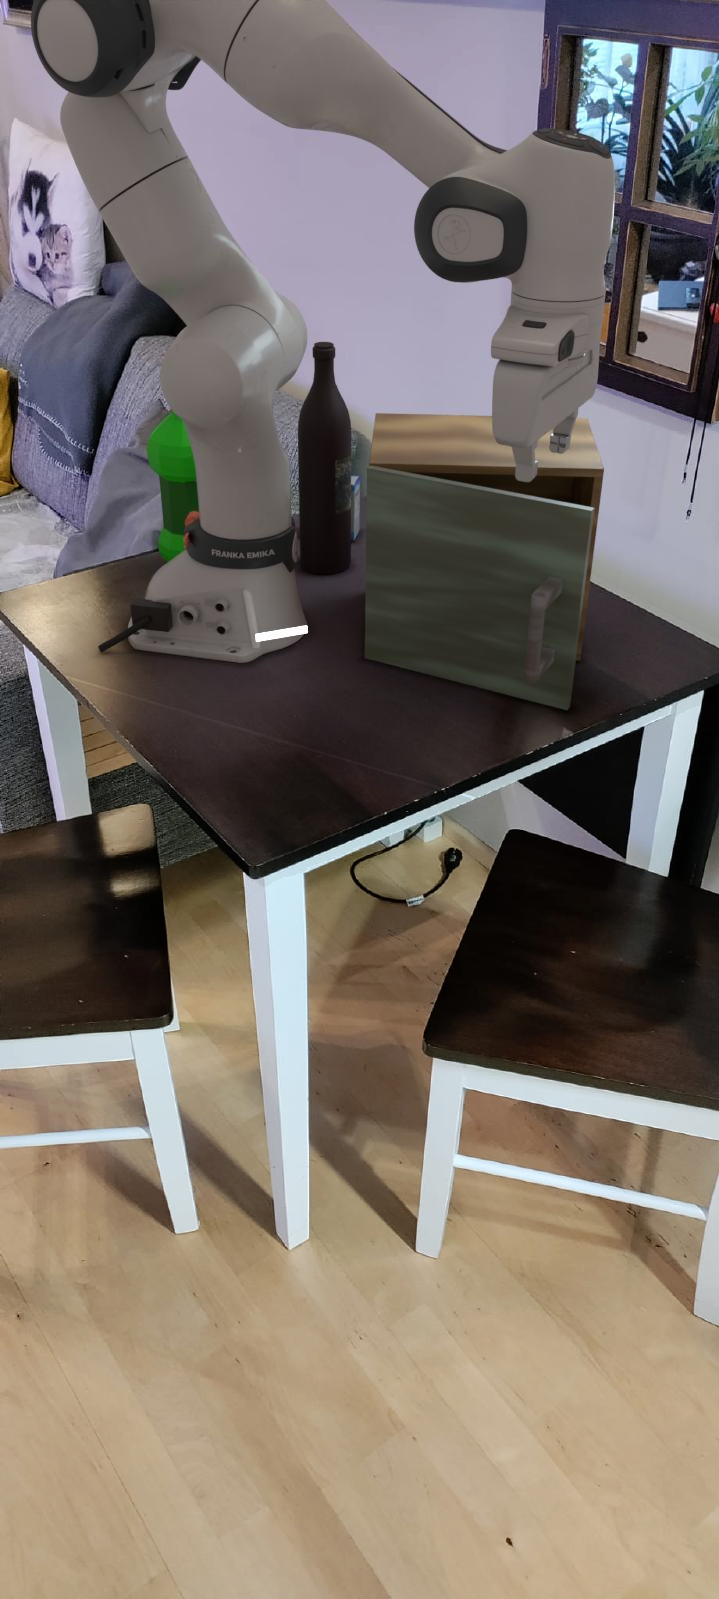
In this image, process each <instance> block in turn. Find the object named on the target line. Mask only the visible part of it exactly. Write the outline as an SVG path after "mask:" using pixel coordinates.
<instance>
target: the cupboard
mask: <svg viewBox="0 0 719 1599" xmlns="http://www.w3.org/2000/svg"><path fill="white" fill-rule="evenodd" d="M553 429H554V428H553ZM553 429H551V430H550V431H549V432H548V433H546V434H545V435H544V436H543V437H541V438H540V439H539V440H538V442H537V448H536V449H535V461H538V468H537V476H536V477H535V478H534V479H533V480H532V481H530V482H523V481H518V480H517V479H516V477H515V471H516V462H515V459H514V455H513V451H512V447H511V446H506V445H501V444H498V443H497V442H496V440H495V437H494V434H493V430H492V415H473V414H472V415H468V414H431V413H430V414H427V413H426V414H425V413H389V412H388V413H384V412H376V413H375V416H374V424H373V432H372V438H371V446H370V455H369V461H368V467H369V466H377V467H382V468H387V469H392V470H398V471H403V472H408V473H414V474H419V475H424V476H429V477H435V478H440V479H445V480H450V481H456V482H461V483H466V484H472V485H477V486H482V487H487V488H493V489H498V490H503V491H508V492H514V493H519V494H524V495H529V496H535V497H540V498H545V499H551V500H556V501H561V502H566V503H572V504H577V505H582V506H587V507H593V508H595V510H594V518H593V526H592V534H591V542H590V550H589V558H588V566H587V574H586V583H585V591H584V599H583V607H582V615H581V623H580V631H579V639H578V647H577V656H576V661H581V657H582V650H583V649H582V648H583V640H584V635H585V634H584V633H585V625H586V617H587V610H588V601H589V594H590V593H589V591H590V585H591V578H592V571H593V570H592V569H593V561H594V552H595V545H596V539H597V538H596V537H597V530H598V522H599V521H598V520H599V513H600V506H601V499H602V490H603V481H604V472H605V468H604V465H603V462H602V459H601V456H600V452H599V449H598V446H597V443H596V441H595V440H596V439H595V437H594V434H593V430H592V427H591V425H590V422H589V419H588V417H577V419H576V422H575V425H574V428H573V431H572V433H571V441H570V448H569V449H568V450H567V451H565V452H564V453H563V454H559V453H553V452H551V451H550V449H549V445H550V435H551V434H552V433H553Z"/></svg>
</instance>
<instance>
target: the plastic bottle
mask: <svg viewBox="0 0 719 1599" xmlns="http://www.w3.org/2000/svg"><path fill="white" fill-rule="evenodd" d="M146 456H147V460H148V464H149V467H150V469H151V470H152V471H153V472H155V473H156V475H158V479H159V489H160V490H159V491H160V501H161V512H162V528H161V531H160V534H159V538H158V541H157V544H158V551H159V552H158V553H159V554H160V555H161V557H162V559H163V560H164V561H165V562H166V563H168V562H169V561H170V560H172V559H173V558H175V557H176V556H177V555H179V554H180V553H181V552H183V551H184V550H185V547H184V530H185V528H186V526H185V521H186V519H187V516H188V515H189V513H190V512H192V511H197V512H199V504H198V492H197V480H196V469H195V463H194V457H193V453H192V449H191V446H190V442H189V439H188V436H187V433H186V430H185V427H184V424H183V421H182V419H181V418H179V417H178V416H177V415H176V414H175V413H174V412H173V410H172V409H171V412H170V413H169V414H168V415H167V416H166V417H164V418H163V420H162V421H161V422H160V423H159V424H158V425H157V426H155V428H154V429H152V431H151V434H150V436H149V438H148V442H147V446H146Z"/></svg>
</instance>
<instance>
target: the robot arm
mask: <svg viewBox="0 0 719 1599" xmlns="http://www.w3.org/2000/svg"><path fill="white" fill-rule="evenodd" d="M32 2H33V3H32V6H31V12H30V31H31V37H32V41H33V42H32V43H33V45H34V48H35V52H36V54H37V57H38V59H39V61H40V63H41V65H42V66H43V68H44V70H45V71H46V73H47V74H48V75H49V77H50V78H51V79H52V80H53V81H54V82H55V83H56V84H57V85H58V86H59V87H60V88H61V89H63V90H64V91H67V93H66V95H65V97H64V99H63V101H62V102H61V106H60V111H59V120H60V127H61V129H62V134H63V135H64V138H65V141H66V144H67V147H68V149H69V152H70V154H71V156H72V159H73V161H74V164H75V166H76V169H77V171H78V173H79V175H80V178H81V180H82V182H83V184H84V186H85V188H86V190H87V193H88V195H89V197H90V198H91V201H92V202H93V204H94V206H95V207H96V210H97V211H98V213H99V215H100V216H101V218H102V220H103V222H104V223H105V225H106V227H107V229H108V231H109V232H110V234H111V236H112V238H113V239H114V242H115V243H116V245H117V247H118V248H119V250H120V252H121V253H122V256H123V257H124V259H125V261H126V263H127V264H128V266H129V268H130V270H131V271H132V273H133V275H134V277H135V279H136V280H137V281H138V282H139V283H140V284H141V285H142V286H143V287H145V288H146V289H147V290H149V291H151V292H153V293H154V294H156V295H157V296H159V297H160V298H161V299H162V300H163V301H164V302H165V303H166V304H167V305H168V306H169V307H170V308H171V309H172V310H173V311H174V312H175V314H176V315H178V317H179V318H180V319H181V320H182V322H183V323H184V324H185V325H186V326H185V327H184V328H183V329H182V330H181V331H180V332H179V333H178V335H177V336H176V337H175V339H174V340H173V342H172V343H171V345H170V346H169V348H168V349H167V351H166V352H165V355H164V356H163V359H162V361H161V364H160V369H159V383H160V388H161V391H162V395H163V397H164V400H165V401H166V403H167V405H168V407H169V408H170V410H171V411H172V410H173V412H174V413H175V414H176V415H177V416H178V417H179V418H181V419H182V421H183V424H184V427H185V430H186V433H187V436H188V439H189V442H190V446H191V449H192V453H193V457H194V463H195V469H196V480H197V492H198V504H199V512H197V511H192V512H190V513H189V515H188V516H187V519H186V521H185V526H186V528H185V530H184V547H185V550H184V551H183V552H181V553H180V554H179V555H177V556H176V557H175V558H173V559H172V560H170V561H169V562H166V563H165V564H163V565H162V566H161V567H159V568H158V569H157V571H155V573H154V575H152V577H151V579H150V581H149V583H148V585H147V588H146V591H145V595H144V596H145V597H144V598H135V599H133V601H132V602H131V603H130V604H129V606H130V618H129V621H128V625H127V628H126V629H125V630H123V631H122V632H119V633H118V634H116V635H115V636H113V637H111V638H110V639H108V640H105V641H104V642H102V643H101V644H99V645H98V646H97V648H98V651H99V652H101V653H104V652H105V651H107V650H109V649H111V648H113V647H115V646H116V645H118V644H119V643H121V642H123V641H124V640H128V643H129V644H130V646H131V647H132V648H133V649H134V650H137V651H138V650H139V651H144V652H152V653H159V654H167V655H175V656H185V657H192V658H200V659H206V660H214V661H221V662H222V661H223V662H231V663H238V664H244V663H245V664H246V663H249V662H252V661H254V660H256V659H258V658H259V657H261V656H262V655H265V654H267V653H271V652H275V651H278V650H282V649H284V648H287V647H289V646H292V645H293V644H295V643H296V642H298V641H300V640H301V639H302V638H303V637H304V636H305V634H308V632H309V631H308V622H307V619H306V617H305V614H304V611H303V610H304V609H303V606H302V603H301V599H300V595H299V589H298V582H297V576H296V565H297V562H298V535H297V533H298V532H297V531H296V520H295V519H294V518H293V516H292V480H291V479H292V478H291V476H292V475H291V460H290V456H289V454H288V452H287V451H286V450H285V448H284V447H283V446H282V443H281V440H280V436H279V434H278V430H277V429H278V428H277V425H276V421H275V415H274V414H275V413H274V401H275V397H276V396H275V395H276V393H277V391H279V390H280V389H281V388H283V386H285V385H286V384H287V383H289V382H290V380H292V378H293V377H294V376H295V374H296V373H297V371H298V370H299V368H300V365H301V364H302V361H303V358H304V356H305V352H306V349H307V346H308V328H307V325H306V321H305V319H304V316H303V315H302V313H301V311H300V309H299V308H298V307H297V305H295V303H294V302H292V301H291V300H290V299H288V297H286V296H285V295H282V294H281V293H279V292H278V291H277V290H276V289H275V288H274V287H273V286H272V285H271V283H270V282H269V281H268V279H267V278H266V277H265V276H264V275H263V274H262V272H261V271H260V270H259V269H258V267H257V266H256V264H255V263H254V262H253V261H252V260H251V258H250V257H249V256H248V255H247V253H246V252H245V251H244V250H243V248H242V247H241V246H240V245H239V243H238V241H237V240H236V239H235V238H234V236H233V235H232V233H231V232H230V230H229V229H228V227H227V225H226V224H225V222H224V220H223V218H222V217H221V215H220V213H219V211H218V210H217V208H216V205H215V203H214V202H213V200H212V198H211V196H210V195H209V193H208V191H207V189H206V186H204V183H203V181H202V179H201V177H200V176H199V174H198V172H197V170H196V168H195V167H194V164H193V163H192V160H191V159H190V158H189V155H188V153H187V152H186V150H185V148H184V145H183V144H182V142H181V141H180V138H179V137H178V135H177V134H176V131H175V129H174V128H173V125H172V123H171V121H170V118H169V115H168V111H167V95H168V91H180V90H182V89H183V88H184V87H185V86H186V85H187V82H188V81H189V79H190V77H191V76H192V74H193V72H194V71H195V69H196V68H197V66H198V65H199V63H201V62H203V63H205V64H206V65H207V67H209V68H210V69H211V70H213V71H214V73H215V74H216V75H218V76H219V77H220V78H221V79H222V80H223V81H224V82H225V83H226V84H227V85H228V86H229V87H230V88H231V89H232V90H234V91H235V92H236V93H237V94H238V95H239V96H240V97H241V98H242V99H244V100H245V101H246V102H247V103H248V104H249V105H251V106H252V107H253V108H255V109H256V110H258V111H260V112H261V113H263V114H264V115H265V116H268V117H269V118H271V119H272V120H274V121H276V122H278V123H280V124H281V125H283V126H285V127H288V128H292V129H296V130H297V129H298V130H308V131H318V132H319V131H320V132H327V133H334V134H341V135H346V136H349V137H354V138H357V139H360V140H363V141H365V142H367V143H369V144H371V145H373V146H375V147H377V148H378V149H380V150H382V151H383V152H384V153H386V154H387V155H388V156H389V157H390V158H392V159H393V160H394V161H395V162H397V163H398V164H399V165H400V166H402V167H403V168H404V169H405V170H406V171H407V172H409V173H410V174H411V175H412V176H414V178H416V179H417V180H418V181H420V182H421V183H422V184H423V185H425V186H426V187H427V188H428V189H427V190H426V191H425V193H424V194H423V195H422V197H421V199H420V201H419V203H418V205H417V208H416V211H415V215H414V220H413V221H414V222H413V232H414V233H413V235H414V240H415V241H414V242H415V245H416V249H417V251H418V253H419V256H420V257H421V260H422V261H423V263H424V264H425V266H427V268H428V269H429V270H430V271H431V272H432V273H433V274H435V275H436V276H437V277H439V278H440V279H443V280H445V281H448V282H451V283H453V282H454V283H461V284H462V283H463V284H470V283H471V284H472V283H477V282H482V281H489V280H491V281H492V280H497V279H501V278H505V279H507V280H509V281H510V283H511V291H510V305H509V306H508V308H507V310H506V313H505V316H504V318H503V320H502V321H501V324H500V325H499V327H498V328H497V329H496V331H495V332H494V334H493V336H492V338H491V342H490V343H491V345H490V357H491V359H495V360H498V361H497V363H496V364H495V368H494V371H493V372H494V373H493V379H492V398H491V416H492V430H493V434H494V437H495V440H496V442H497V443H498V444H501V445H506V446H511V447H512V451H513V455H514V459H515V462H516V471H515V477H516V479H517V480H518V481H523V482H530V481H532V480H533V479H534V478H535V477H536V476H537V468H538V461H535V449H536V448H537V442H538V440H539V439H540V438H541V437H543V436H544V435H545V434H546V433H548V432H549V431H550V430H551V429H553V428H554V429H553V433H552V434H551V435H550V445H549V449H550V451H551V452H553V453H559V454H563V453H564V452H565V451H567V450H568V449H569V448H570V441H571V433H572V431H573V428H574V425H575V422H576V419H577V418H578V416H579V409H580V408H581V407H582V406H583V405H584V404H585V403H588V401H589V400H590V399H592V398H593V397H594V395H595V392H596V388H597V385H598V378H599V364H600V346H601V338H602V328H603V320H604V319H603V318H604V310H605V302H606V300H605V299H606V292H607V291H606V290H607V286H606V279H605V263H606V258H607V255H608V253H609V250H610V247H611V244H612V239H613V237H612V236H613V228H614V217H615V215H614V214H615V195H616V193H615V192H616V178H615V177H616V176H615V175H616V174H615V165H614V159H613V156H612V153H611V151H610V150H609V149H608V148H607V146H606V145H605V144H604V143H603V142H602V141H600V140H599V139H596V138H595V137H593V136H591V135H589V134H585V133H582V132H577V131H574V130H568V129H558V128H553V127H549V128H540V129H536V130H534V131H532V132H531V133H530V134H529V135H528V136H527V137H526V138H525V139H524V140H522V141H521V142H519V143H518V144H516V145H514V146H513V147H511V148H509V149H505V148H501V147H497V146H494V145H491V144H490V143H488V142H485V141H483V140H482V139H481V138H479V137H478V136H476V135H475V134H474V133H472V132H471V131H470V130H469V129H467V128H466V127H465V126H464V125H463V124H461V123H460V121H458V120H456V119H455V118H454V117H453V116H452V115H451V114H449V113H448V112H447V111H446V110H445V109H444V108H443V107H441V106H440V104H438V103H436V102H435V101H434V100H433V99H432V98H430V97H429V96H428V95H427V94H425V93H424V92H423V91H422V90H421V89H420V88H418V87H417V86H416V85H415V84H413V83H412V82H411V81H410V80H409V79H408V78H407V77H405V76H404V75H403V74H401V72H399V71H397V70H396V69H395V68H394V67H393V66H392V65H391V64H390V63H388V61H387V60H386V59H385V58H383V56H382V55H381V54H380V53H379V52H378V51H376V49H374V48H373V46H371V45H370V44H369V43H368V42H367V41H366V40H365V39H364V38H363V37H362V36H361V35H360V34H359V33H358V32H357V31H356V30H355V29H354V28H353V27H352V26H351V25H350V24H349V23H348V22H347V21H346V20H345V19H344V18H343V17H342V16H341V15H340V13H339V12H338V11H336V10H335V8H334V7H332V5H331V4H329V3H328V1H326V0H33V1H32Z"/></svg>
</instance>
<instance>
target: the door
mask: <svg viewBox="0 0 719 1599" xmlns="http://www.w3.org/2000/svg"><path fill="white" fill-rule="evenodd" d="M365 508H366V512H365V513H366V514H365V516H366V518H365V519H366V520H365V521H366V522H365V598H364V599H365V601H364V603H365V606H364V607H365V608H364V614H365V615H364V659H366V660H371V661H374V662H378V663H382V664H385V665H386V664H387V665H390V666H394V667H398V668H401V669H406V670H408V671H414V672H417V673H422V674H425V675H429V676H432V677H436V678H440V679H444V680H448V681H452V682H456V683H459V684H463V685H467V686H471V687H475V688H479V689H483V690H487V691H489V692H494V693H499V694H501V695H506V696H510V697H513V698H518V699H520V700H521V699H522V700H525V701H529V702H533V703H537V704H541V705H545V706H549V707H552V708H556V709H559V710H564V711H568V710H569V709H570V707H571V704H572V697H573V696H572V693H573V688H574V686H573V685H574V679H575V673H576V672H575V671H576V664H577V663H576V662H577V660H576V656H577V647H578V639H579V631H580V623H581V615H582V607H583V599H584V591H585V583H586V574H587V566H588V558H589V550H590V542H591V534H592V526H593V518H594V510H595V508H593V507H587V506H582V505H577V504H572V503H566V502H561V501H556V500H551V499H545V498H540V497H535V496H529V495H524V494H519V493H514V492H508V491H503V490H498V489H493V488H487V487H482V486H477V485H472V484H466V483H461V482H456V481H450V480H445V479H440V478H435V477H429V476H424V475H419V474H414V473H408V472H403V471H398V470H392V469H387V468H382V467H377V466H369V465H368V467H366V507H365Z"/></svg>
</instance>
